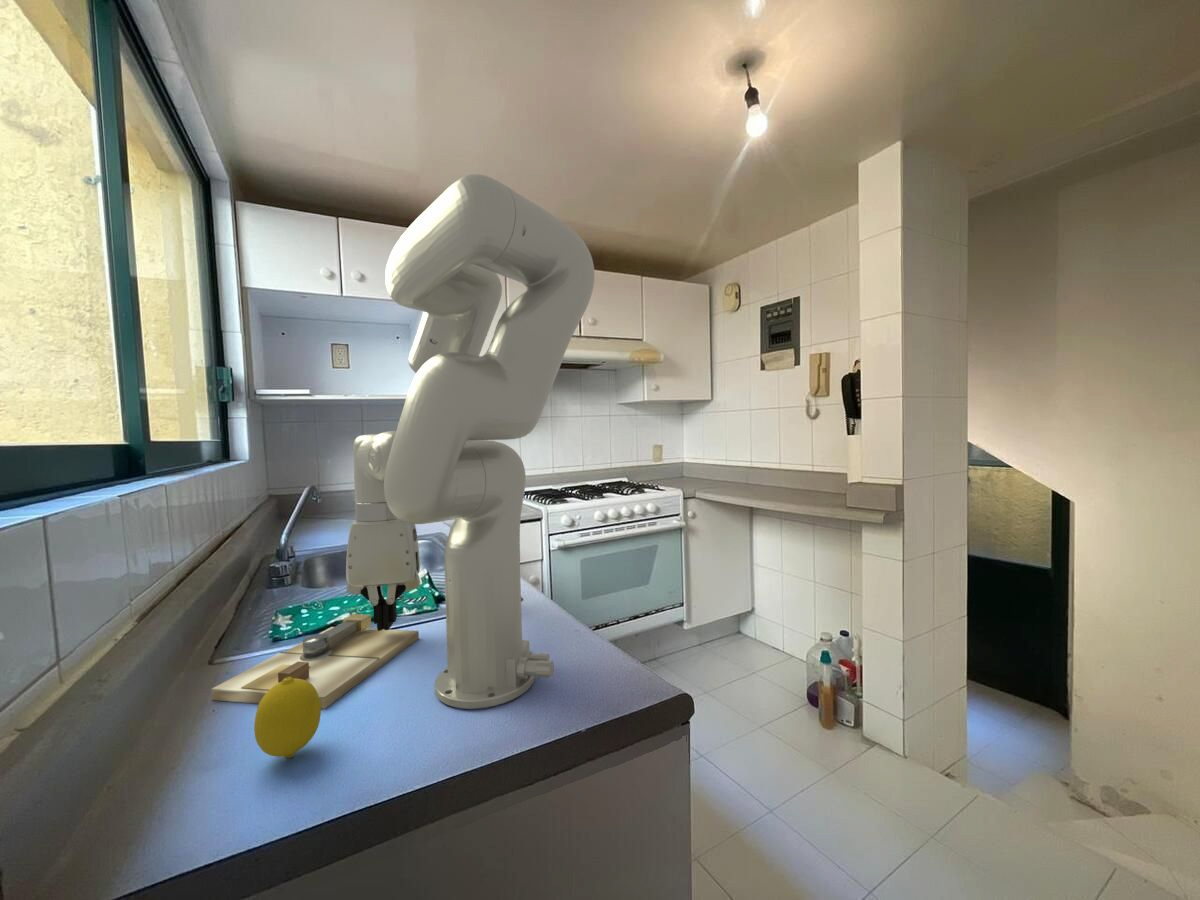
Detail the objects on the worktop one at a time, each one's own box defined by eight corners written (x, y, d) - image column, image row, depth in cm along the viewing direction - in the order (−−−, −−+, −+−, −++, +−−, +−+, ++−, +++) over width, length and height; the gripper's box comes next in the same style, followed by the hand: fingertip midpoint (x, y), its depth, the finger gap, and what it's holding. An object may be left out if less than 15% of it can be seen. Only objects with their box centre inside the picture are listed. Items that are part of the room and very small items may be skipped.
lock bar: (317, 657, 64) (316, 643, 64) (297, 656, 64) (296, 642, 64) (371, 625, 75) (370, 613, 75) (353, 624, 76) (353, 612, 76)
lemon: (289, 780, 43) (286, 695, 42) (240, 773, 44) (237, 690, 44) (334, 742, 48) (332, 666, 48) (290, 736, 49) (288, 663, 49)
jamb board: (418, 638, 74) (418, 617, 74) (324, 708, 54) (323, 680, 54) (331, 633, 77) (331, 613, 77) (212, 699, 57) (211, 672, 57)
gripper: (435, 506, 77) (438, 614, 77) (340, 511, 74) (343, 622, 74) (427, 513, 70) (430, 632, 70) (320, 518, 67) (324, 642, 67)
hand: (385, 626), depth 72 cm, fingers closed
